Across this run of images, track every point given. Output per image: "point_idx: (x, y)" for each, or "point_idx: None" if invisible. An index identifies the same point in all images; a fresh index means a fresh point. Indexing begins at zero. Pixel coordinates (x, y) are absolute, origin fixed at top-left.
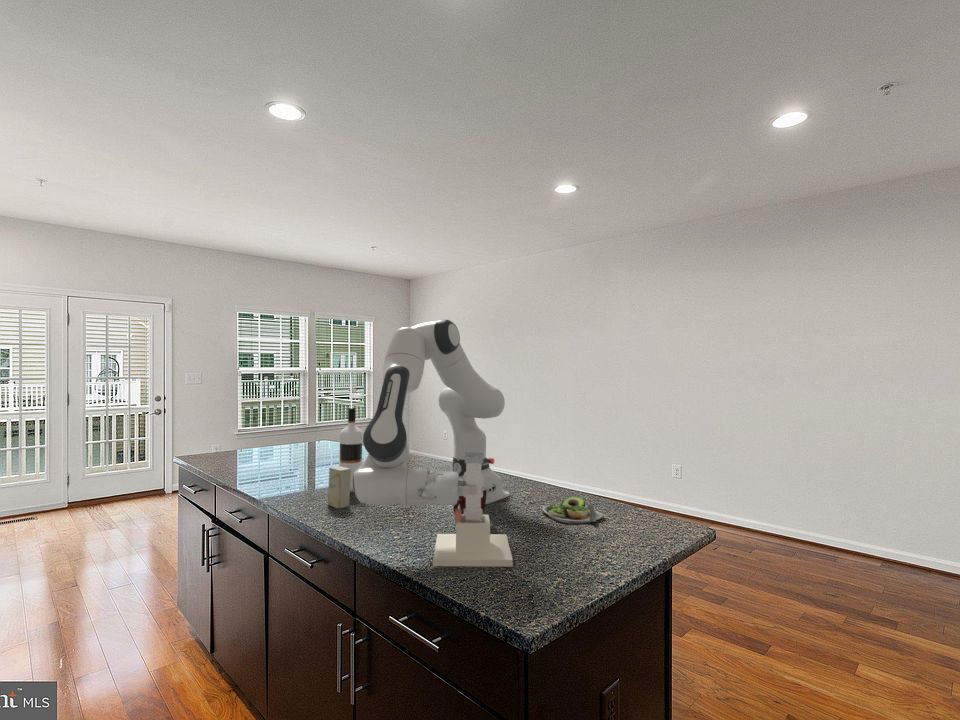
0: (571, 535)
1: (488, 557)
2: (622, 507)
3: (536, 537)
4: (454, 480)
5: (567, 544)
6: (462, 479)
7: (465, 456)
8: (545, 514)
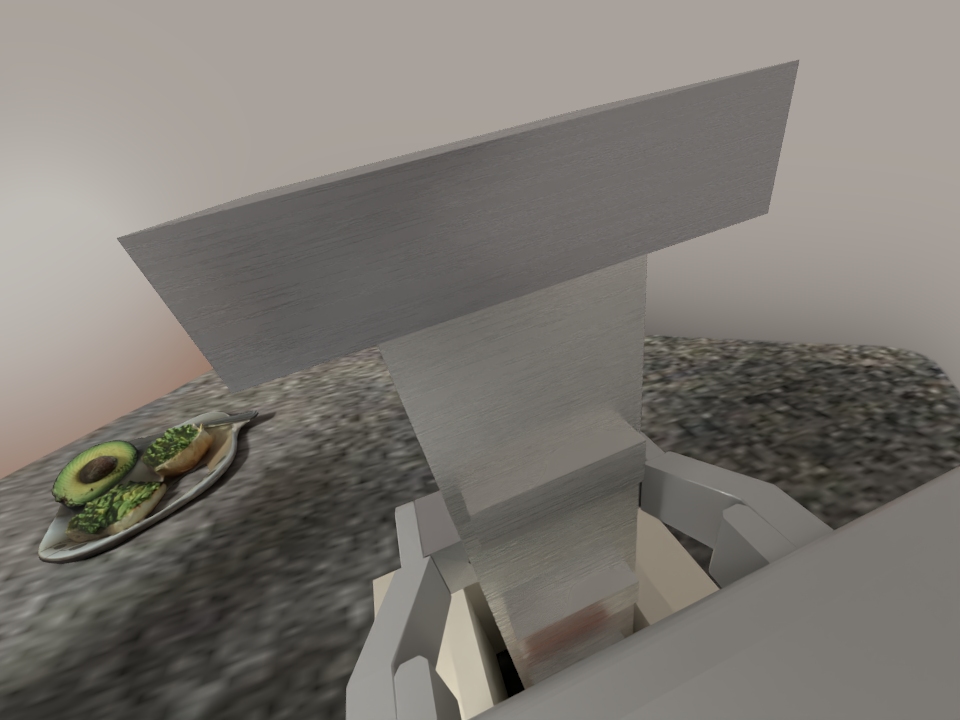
0: (330, 439)
1: (656, 549)
2: (142, 410)
3: (346, 505)
4: (715, 676)
5: (398, 429)
6: (356, 691)
7: (750, 71)
8: (120, 541)
